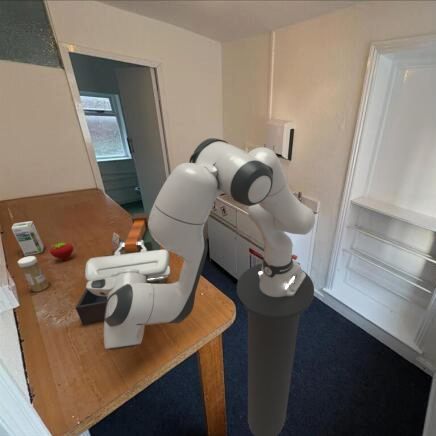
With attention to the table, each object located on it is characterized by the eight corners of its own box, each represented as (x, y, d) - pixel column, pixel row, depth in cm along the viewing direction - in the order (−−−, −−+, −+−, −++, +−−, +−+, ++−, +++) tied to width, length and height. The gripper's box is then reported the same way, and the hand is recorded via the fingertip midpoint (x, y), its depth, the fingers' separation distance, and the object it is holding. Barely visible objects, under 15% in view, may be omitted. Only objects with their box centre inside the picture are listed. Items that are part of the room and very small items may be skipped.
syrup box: (24, 256, 104) (10, 228, 98) (27, 250, 109) (14, 222, 102) (42, 253, 108) (29, 225, 101) (44, 246, 112) (32, 220, 106)
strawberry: (78, 259, 106) (71, 240, 101) (55, 266, 101) (46, 246, 96) (75, 253, 109) (68, 235, 105) (53, 259, 104) (45, 240, 100)
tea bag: (122, 248, 116) (118, 230, 112) (129, 253, 113) (124, 235, 108) (114, 251, 113) (109, 233, 109) (120, 256, 110) (115, 238, 105)
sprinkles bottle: (49, 288, 89) (36, 259, 84) (32, 293, 86) (17, 264, 80) (48, 282, 92) (35, 254, 86) (31, 287, 89) (16, 258, 83)
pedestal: (163, 299, 89) (151, 241, 78) (139, 303, 86) (123, 244, 75) (166, 279, 99) (155, 225, 88) (144, 282, 96) (131, 227, 85)
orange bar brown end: (140, 251, 70) (137, 240, 69) (123, 253, 69) (120, 242, 67) (150, 222, 87) (148, 212, 85) (136, 223, 85) (134, 213, 84)
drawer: (124, 316, 81) (119, 300, 77) (82, 325, 76) (75, 307, 73) (140, 265, 105) (136, 251, 102) (109, 270, 101) (104, 255, 98)
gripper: (168, 274, 65) (168, 232, 72) (77, 288, 58) (87, 241, 65) (172, 282, 70) (171, 242, 77) (89, 296, 63) (96, 251, 70)
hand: (132, 241), depth 71 cm, fingers closed on orange bar brown end, 3 cm apart
